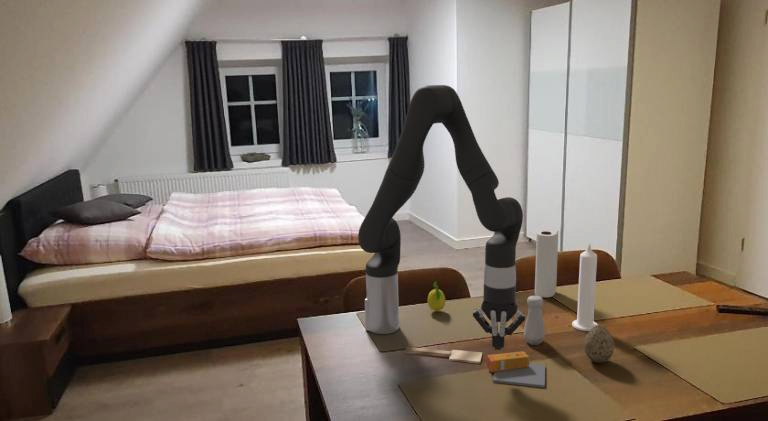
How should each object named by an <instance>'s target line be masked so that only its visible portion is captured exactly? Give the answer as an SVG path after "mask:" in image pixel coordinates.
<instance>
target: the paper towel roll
mask: <svg viewBox="0 0 768 421" xmlns="http://www.w3.org/2000/svg"><path fill="white" fill-rule="evenodd" d="M535 244H536V245H535V270H534V271H535V272H534V274H535V275H534V276H535V277H534V296H540V297H541V298H551V297H553V296H555V293H556V292H557V278H558V277H557V276H558V254H559V251H558V250H559V230H558V231H557V232H554V231H552V230H551V231H549V230H540V231H537V232H536V242H535Z"/></svg>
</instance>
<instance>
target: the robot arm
mask: <svg viewBox="0 0 768 421" xmlns="http://www.w3.org/2000/svg"><path fill="white" fill-rule="evenodd" d="M434 124H442V125H443V127H445V130H447V132H448V133H449V135H450V137H451V139H452V141H453V147H454V156H455V163H456V166H457V170H458V172H459V174H460V176H461V177H462V179H463V181H464V183H465V185H466V187H467V188H468V190H469V191H470V194H471V197H472V201H473V205H474V208H475V213H476V215H477V218H478V220H479V222H480V224H481V225H482V226H483V227H484V229H486V230H487V231H490V232H492V233H493V232H494V233H493V235H492V236H491V237H490V238H489V239H488V240H487V241H486V244H485V248H484V252H485V254H484V262H485V263H484V269H483V300H482V303H481V306H480V307H478V308H474V310H473V312H472V317H473V318H474V319H475V321H476V322H477V323H478V324H479V325H480V327H481V328H482V330H483V331H484V332H485V333H486V334H490V335H491V343H492V344H491V346H492V348H494V350H498V351H502V349H503V348H504V347H505V336H507V335H508V336H511V335H512V334H513V333H514V332H515V331H517V329H518V328H519V327H520V326H521V325H522V324H523V323H524V322H526V314H525V312H522V311H520V310H519V309H518V306H517V303H516V299H517V298H516V295H517V292H516V291H517V290H516V289H517V269H516V255H517V253H516V251H517V250H516V249H517V244H518V242H519V238H520V233H521V231H522V230H521V229H522V226H523V221H524V220H523V218H524V214H523V213H524V212H523V209H522V205H521V204H520V202H519V201H518V200H517V199H516V198H513V197H509V196H508V197H502V198H499V199H498V198H497V195H496V191H495V190H496V189H497V188H498V186H499V184H500V182H499V181H500V180H499V178H498V176H497V175H496V173H495V171H494V170H493V168H492V166H491V164H490V163H489V161H488V160H487V158H486V156H485V154H484V152H483V150H482V149H481V146H479V143H478V141H477V139H476V136H475V133H474V131H473V128H472V126H471V124H470V121H469V118H468V117H467V113H466V111H465V108H464V105H463V103H462V101H461V99H460V96H459V95H458V92H456V90H455V89H454V88H453V87H451V86H449V85H445V84H437V85H436V84H434V85H433V84H432V85H430V84H429V85H428V84H427V85H424V86H421V87H419V88H417V90H416V91H415V92H414V93H413V95H412V97H411V100H410V103H409V105H408V110H407V112H406V117H405V119H404V124H403V126H402V130H401V133H400V136H399V139H398V141H397V144H396V147H395V149H394V151H393V154H392V156H391V159H390V161H389V164H388V165H387V168H386V170H385V173H384V175H383V179H382V181H381V183H380V185H379V188H378V191H377V193H376V194H375V197H374V200H373V202H372V204H371V206H370V208H369V209H368V211H367V213H366V214H365V217H364V219H363V221H362V222H361V224H360V226H359V229H358V235H357V238H358V244H359V246H360V249H362V250H363V251H364V252H365V253H368V254H373V255H372V256H371V258H370V259H369V260H368V261H367V262H366V264H365V284H366V285H365V286H366V287H365V288H366V298H364V317H365V331H369V332H371V333H374V334H377V335H388V334H392V333H396V332H397V331H398V330H399V329H400V316H399V315H400V312H399V272H398V268H399V265H400V263H401V243H402V242H401V241H402V237H401V230H400V229H401V228H400V226H399V223H398V222H397V221H396V220H395V219H394V216H395V215H396V214H397V213H398V211H400V209H401V208H402V207H403V206H404V205H405V204H406V203H407V202H408V201H409V200H410V198H412V196H413V195H414V194H415V192H416V190H417V188H418V185H419V184H420V181H421V180H422V177H423V174H424V171H425V156H424V146H425V141H426V139H427V136H428V134H429V132H430V131H431V128H432V127H433V125H434ZM484 315H485V316H486V317H487V319H488V320H489V321H490V323H489V322H488V320H487V319H486V317H484ZM513 317H514V320H513V321H512V322H511V323H510V324H509V325H508V326H507V325H506V324H507V323H508V322H509V321H510V320H511V319H512V318H513ZM498 323H499V324H498ZM506 326H507V327H506Z"/></svg>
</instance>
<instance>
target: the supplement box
mask: <svg viewBox="0 0 768 421" xmlns="http://www.w3.org/2000/svg"><path fill="white" fill-rule="evenodd" d="M529 363H530V355H528V354H527V353H526V352H525V351H514V352H513V351H512V352H504V353H496V354H495V353H494V354H488V355H486V367H487V368H488V370H489V371H490V372H491V373H494V372H495V371H502V370H510V369H518V368H526V367H529Z"/></svg>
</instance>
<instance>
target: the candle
mask: <svg viewBox="0 0 768 421" xmlns="http://www.w3.org/2000/svg"><path fill="white" fill-rule="evenodd" d="M591 246H592V245H591V243H588V244H587V247H586V249H585V251H583V252H581V253H580V256H579V272H578V274H579V276H578V291H577V292H578V294H577V312H576V313H577V315H576V316H577V317H576V319H575V320H573V321H572V323H571V326H572V328H574V329H576V330H577V331H581V332H589V331H590V330H591V329H592V328H593V327H594V326H596V325H599V324H598V323H597V322H595V321H594V319H595V318H594V317H595V302H596V301H595V300H596V285H597V284H596V281H597V270H598V269H597V267H598V266H597V265H598V255H597V254H596V252H594V251H593V249H592V247H591Z"/></svg>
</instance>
